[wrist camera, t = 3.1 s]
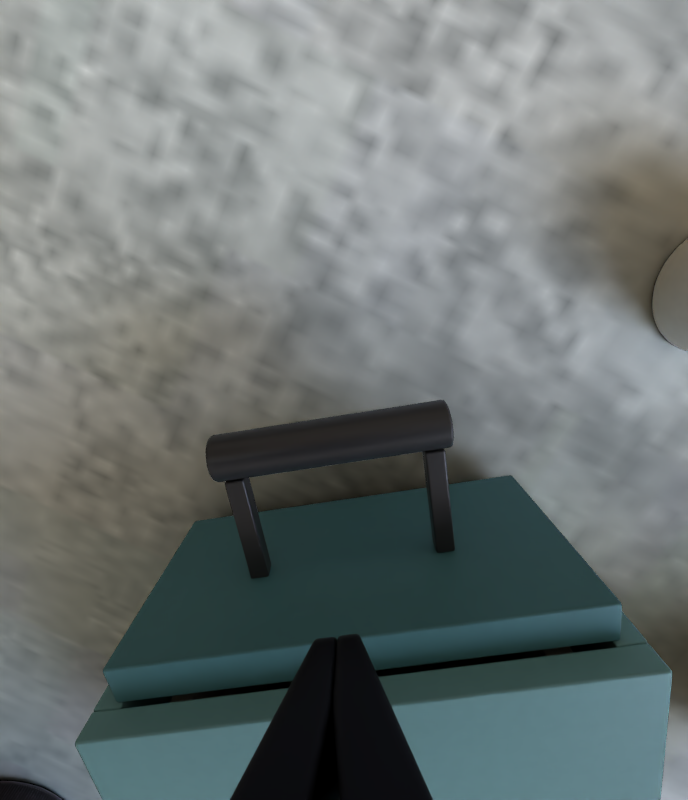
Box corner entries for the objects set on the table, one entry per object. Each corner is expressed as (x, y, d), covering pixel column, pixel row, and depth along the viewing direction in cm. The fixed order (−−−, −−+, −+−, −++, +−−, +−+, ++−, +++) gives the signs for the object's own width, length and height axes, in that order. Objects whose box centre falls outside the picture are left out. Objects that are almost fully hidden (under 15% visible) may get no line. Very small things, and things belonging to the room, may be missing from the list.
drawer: (160, 412, 16) (27, 508, 9) (505, 357, 15) (631, 417, 8) (260, 729, 20) (220, 939, 14) (522, 697, 20) (609, 902, 13)
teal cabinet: (196, 533, 18) (72, 744, 10) (518, 487, 17) (674, 671, 9) (261, 742, 22) (212, 1019, 14) (527, 711, 21) (644, 982, 13)
